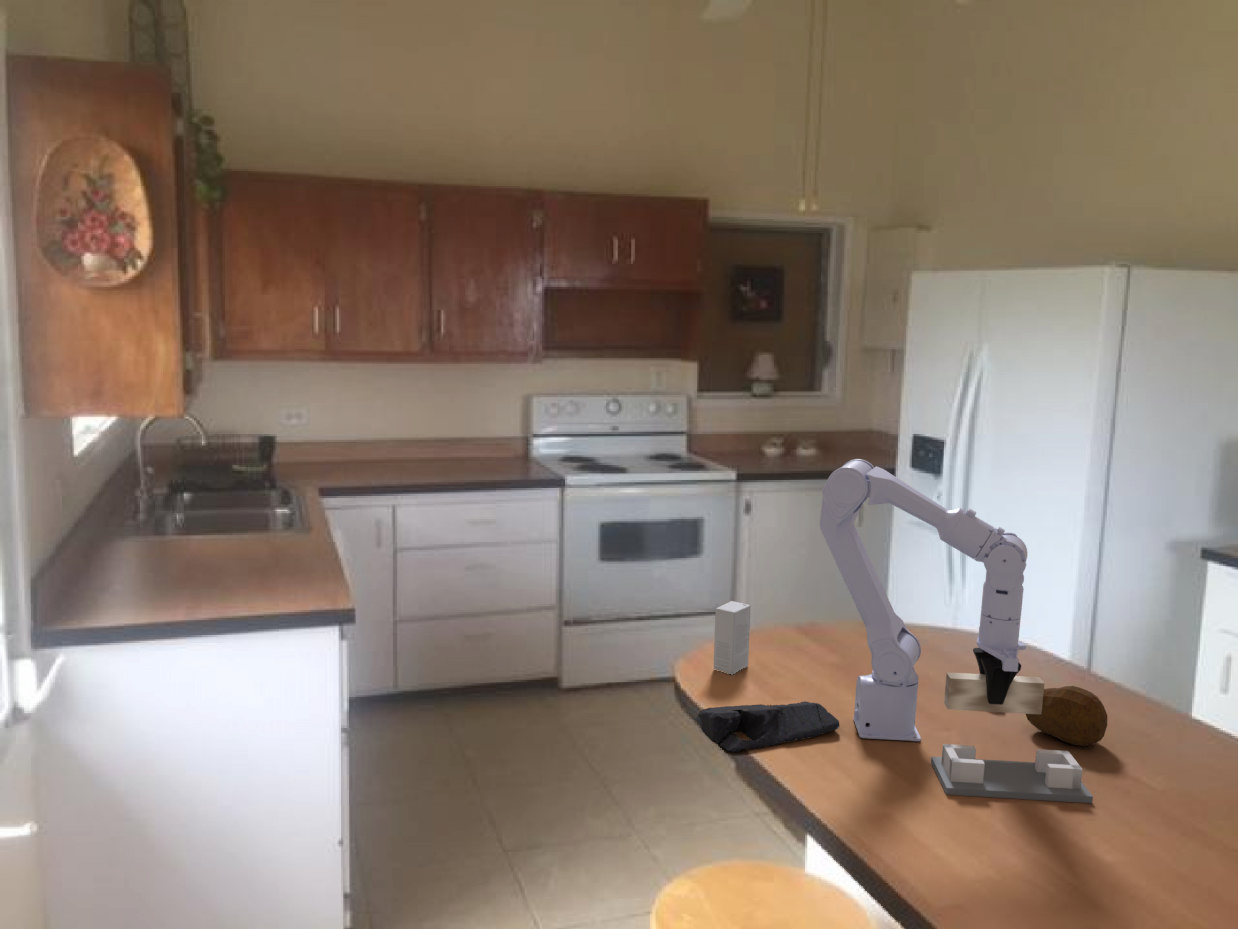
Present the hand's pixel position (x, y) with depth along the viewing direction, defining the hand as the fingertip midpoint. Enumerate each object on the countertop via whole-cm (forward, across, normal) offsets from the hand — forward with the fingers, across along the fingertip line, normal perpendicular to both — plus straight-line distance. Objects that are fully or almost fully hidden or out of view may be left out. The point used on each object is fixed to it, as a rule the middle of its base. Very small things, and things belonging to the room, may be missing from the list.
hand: (992, 699), depth 162 cm
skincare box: (+8, +29, +39) cm, 49 cm away
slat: (+2, 0, 0) cm, 2 cm away
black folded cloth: (+9, +4, +34) cm, 35 cm away
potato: (+8, +6, -14) cm, 17 cm away
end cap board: (+8, -11, 0) cm, 14 cm away
